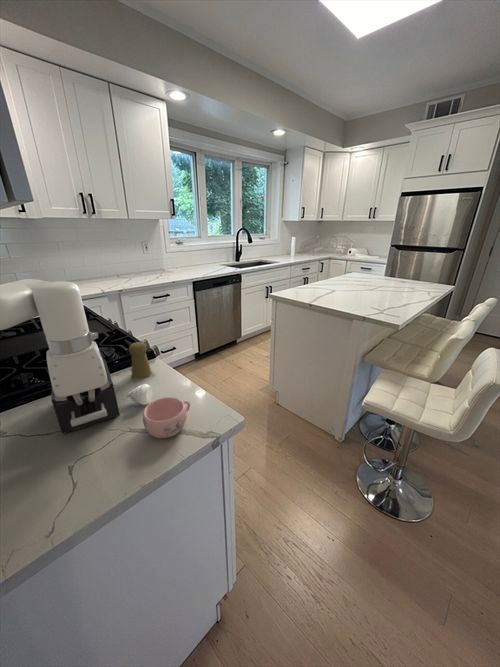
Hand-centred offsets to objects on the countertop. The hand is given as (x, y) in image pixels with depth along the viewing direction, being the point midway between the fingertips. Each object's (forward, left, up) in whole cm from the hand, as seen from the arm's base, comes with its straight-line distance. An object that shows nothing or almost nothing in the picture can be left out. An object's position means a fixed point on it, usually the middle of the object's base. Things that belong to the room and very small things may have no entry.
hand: (89, 414), depth 64 cm
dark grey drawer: (0, +7, -4) cm, 8 cm away
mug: (+16, -8, -5) cm, 19 cm away
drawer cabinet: (0, +11, -5) cm, 12 cm away
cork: (+16, +21, -5) cm, 27 cm away
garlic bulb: (+12, +6, -5) cm, 14 cm away
